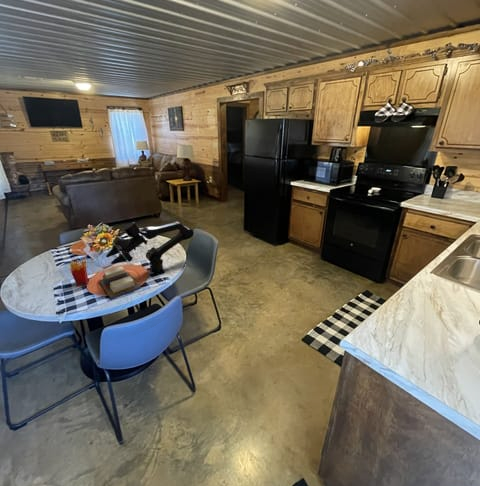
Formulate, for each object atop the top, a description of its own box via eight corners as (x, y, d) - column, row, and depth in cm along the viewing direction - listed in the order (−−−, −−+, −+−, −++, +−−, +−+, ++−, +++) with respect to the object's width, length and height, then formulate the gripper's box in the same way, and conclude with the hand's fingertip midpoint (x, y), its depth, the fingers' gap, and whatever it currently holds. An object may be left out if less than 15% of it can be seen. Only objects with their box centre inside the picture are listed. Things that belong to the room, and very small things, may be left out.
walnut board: (127, 272, 160) (126, 271, 160) (141, 288, 145) (140, 286, 145) (99, 282, 151) (98, 280, 150) (110, 299, 135) (110, 297, 135)
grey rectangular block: (125, 273, 157) (123, 268, 156) (127, 277, 153) (126, 271, 152) (103, 280, 150) (102, 275, 148) (106, 284, 146) (104, 278, 145)
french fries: (76, 281, 152) (70, 258, 146) (92, 278, 154) (87, 255, 149) (74, 289, 144) (67, 265, 138) (91, 286, 147) (84, 262, 141)
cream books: (130, 281, 149) (129, 275, 148) (134, 285, 145) (133, 280, 144) (110, 288, 143) (108, 282, 141) (113, 293, 139) (112, 287, 137)
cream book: (121, 268, 155) (121, 265, 154) (125, 272, 151) (124, 269, 150) (103, 274, 149) (103, 271, 148) (107, 278, 145) (106, 275, 144)
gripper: (120, 226, 149) (95, 243, 144) (131, 238, 136) (104, 256, 131) (131, 241, 156) (107, 257, 151) (142, 253, 143) (117, 271, 138)
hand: (108, 260), depth 142 cm, fingers open, 9 cm apart
